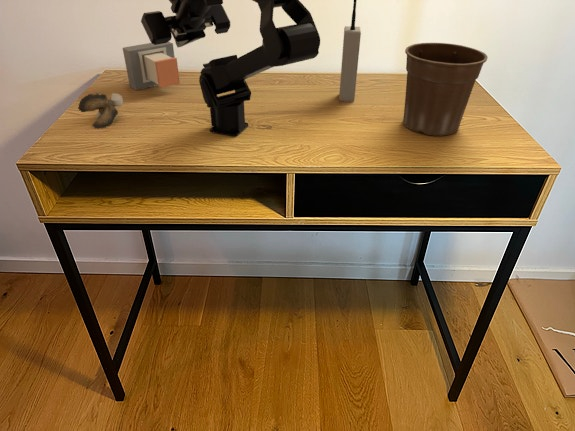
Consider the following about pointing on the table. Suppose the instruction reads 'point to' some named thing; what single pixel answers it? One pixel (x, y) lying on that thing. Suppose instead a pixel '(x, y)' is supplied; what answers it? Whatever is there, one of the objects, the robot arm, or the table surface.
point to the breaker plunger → (161, 69)
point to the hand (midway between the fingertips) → (178, 45)
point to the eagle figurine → (101, 108)
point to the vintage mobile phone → (350, 60)
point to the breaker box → (136, 62)
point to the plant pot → (439, 85)
